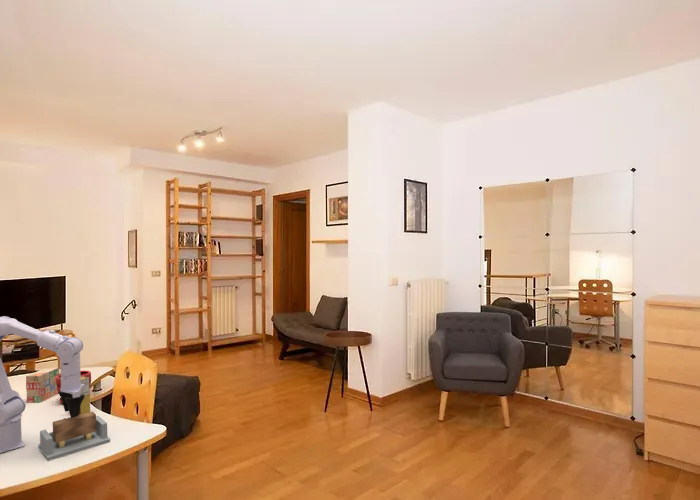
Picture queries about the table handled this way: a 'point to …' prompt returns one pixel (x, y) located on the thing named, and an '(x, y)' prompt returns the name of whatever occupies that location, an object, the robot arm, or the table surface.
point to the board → (74, 427)
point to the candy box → (86, 391)
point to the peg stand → (73, 441)
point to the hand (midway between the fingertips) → (71, 413)
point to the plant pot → (82, 373)
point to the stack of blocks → (42, 385)
